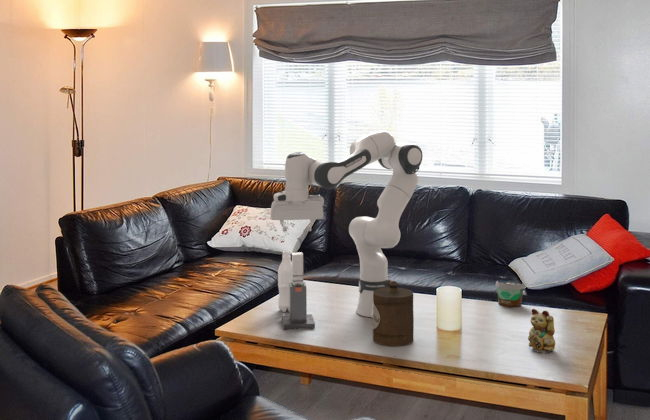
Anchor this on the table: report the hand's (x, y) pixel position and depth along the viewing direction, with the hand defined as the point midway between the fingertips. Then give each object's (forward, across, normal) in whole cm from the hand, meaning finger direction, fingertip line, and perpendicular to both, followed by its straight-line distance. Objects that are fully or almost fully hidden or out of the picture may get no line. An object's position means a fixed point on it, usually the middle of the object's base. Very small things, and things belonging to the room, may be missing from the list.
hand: (297, 231), depth 303 cm
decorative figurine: (+37, -83, +40) cm, 99 cm away
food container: (+37, -90, -14) cm, 98 cm away
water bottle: (+37, +3, -19) cm, 42 cm away
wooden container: (+37, -33, +23) cm, 55 cm away
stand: (+37, 0, 0) cm, 37 cm away
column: (+29, 0, 0) cm, 29 cm away
